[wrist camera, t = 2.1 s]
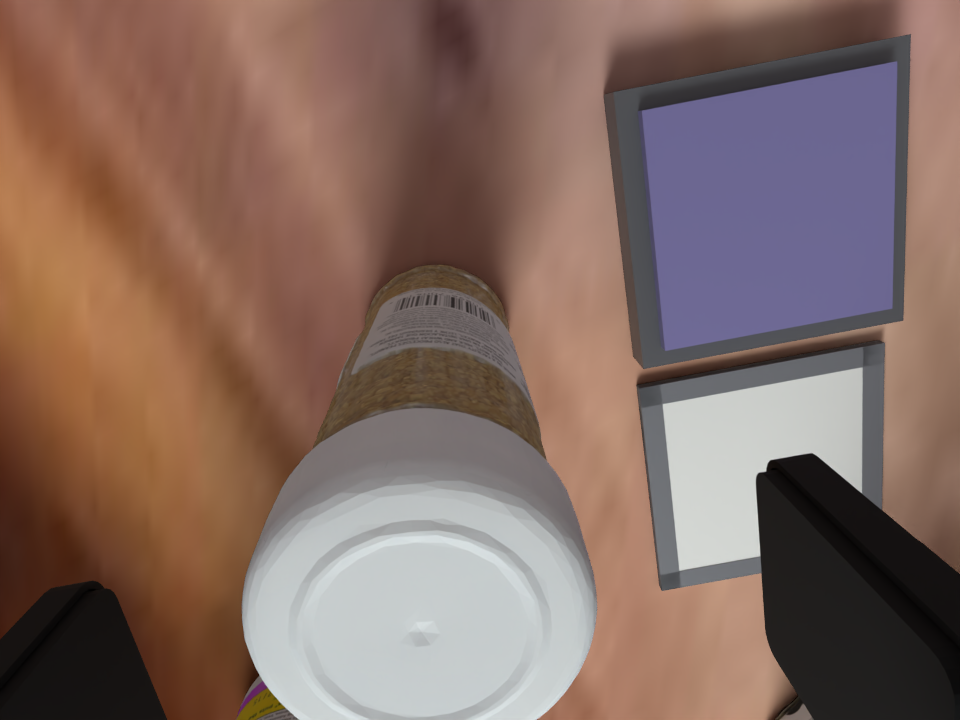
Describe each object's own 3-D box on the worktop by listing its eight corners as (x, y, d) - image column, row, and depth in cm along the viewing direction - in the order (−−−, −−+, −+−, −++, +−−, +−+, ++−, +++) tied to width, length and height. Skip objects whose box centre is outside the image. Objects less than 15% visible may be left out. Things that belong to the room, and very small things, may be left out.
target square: (636, 385, 22) (639, 388, 21) (878, 340, 22) (884, 342, 21) (659, 585, 24) (662, 590, 24) (875, 546, 24) (881, 551, 24)
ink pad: (603, 94, 19) (617, 90, 17) (882, 40, 19) (920, 31, 17) (633, 356, 21) (647, 373, 20) (879, 310, 21) (911, 324, 20)
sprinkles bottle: (343, 362, 21) (175, 707, 8) (404, 234, 20) (320, 405, 7) (470, 421, 22) (498, 817, 9) (537, 301, 21) (676, 563, 8)
